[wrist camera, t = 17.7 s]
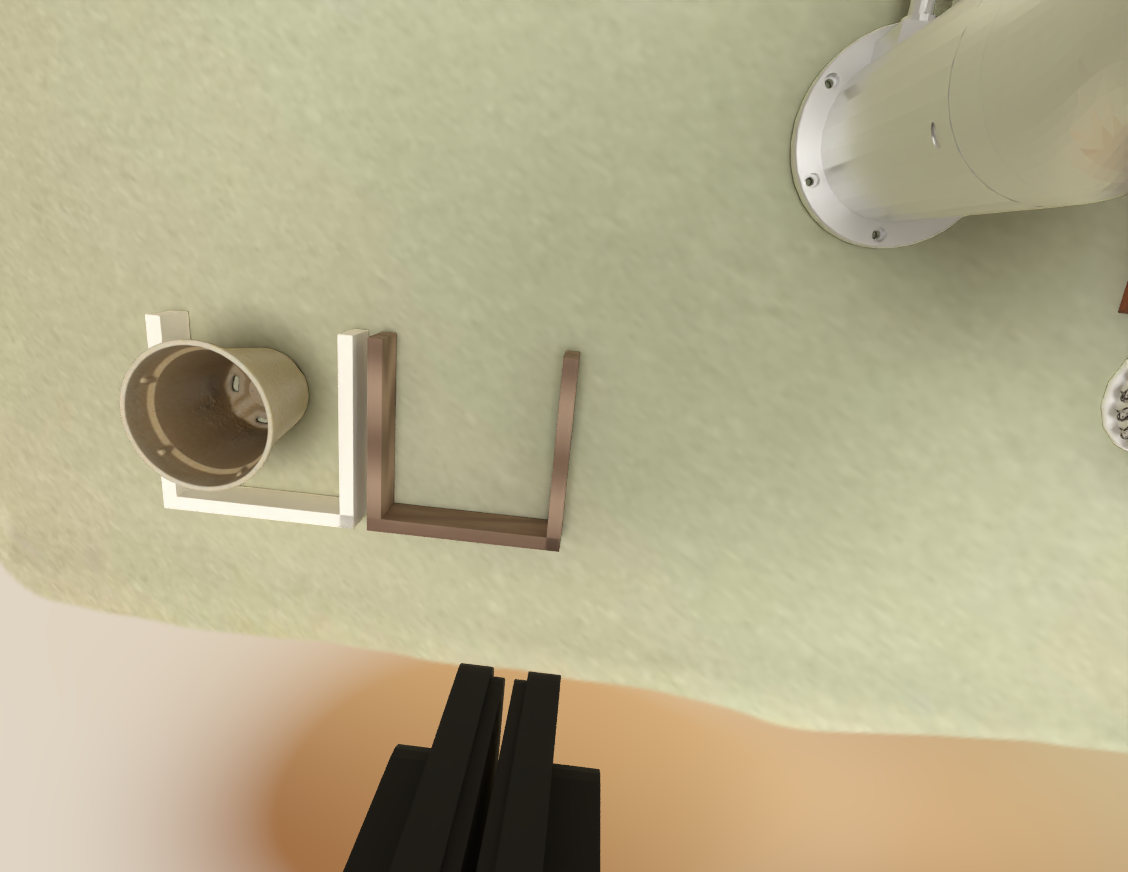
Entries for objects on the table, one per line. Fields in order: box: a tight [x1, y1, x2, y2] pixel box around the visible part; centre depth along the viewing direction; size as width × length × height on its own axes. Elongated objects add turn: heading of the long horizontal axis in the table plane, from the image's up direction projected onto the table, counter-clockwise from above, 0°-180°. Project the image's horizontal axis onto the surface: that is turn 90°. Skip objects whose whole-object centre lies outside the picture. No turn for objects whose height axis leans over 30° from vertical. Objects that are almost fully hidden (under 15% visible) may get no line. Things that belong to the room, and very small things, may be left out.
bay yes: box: [145, 310, 369, 529], centre depth 45 cm, size 14×14×3 cm
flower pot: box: [119, 339, 309, 491], centre depth 41 cm, size 9×9×9 cm
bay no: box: [367, 332, 580, 552], centre depth 44 cm, size 14×14×3 cm
